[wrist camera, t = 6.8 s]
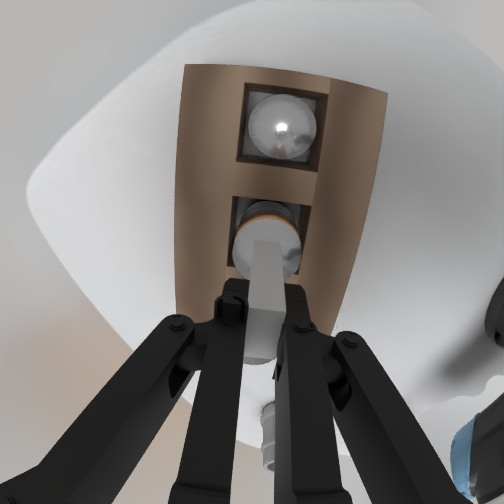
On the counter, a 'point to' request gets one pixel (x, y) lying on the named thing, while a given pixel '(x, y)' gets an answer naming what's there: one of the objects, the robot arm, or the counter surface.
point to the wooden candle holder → (271, 182)
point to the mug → (268, 437)
